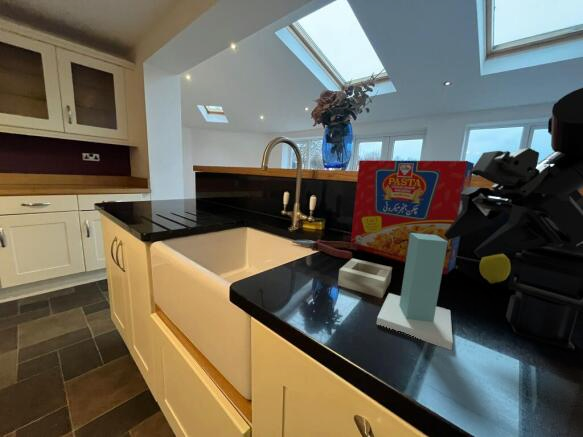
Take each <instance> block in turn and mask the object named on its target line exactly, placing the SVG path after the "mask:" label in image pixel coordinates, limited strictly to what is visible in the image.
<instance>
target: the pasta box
mask: <svg viewBox="0 0 583 437" xmlns="http://www.w3.org/2000/svg"><path fill="white" fill-rule="evenodd" d="M474 166H475V163H474V162H471V161H469V160H366V159H365V160H363V159H362V160H359V162H358V170H357V171H358V172H357V181H356V188H355V189H356V190H355V198H354V199H355V200H354V208H353V217H352V227H351V237H350V243H353V244H356V245H357V246H358V249H357V250H359V251H360V250H361V251H363V250H364V251H363V252H367V253H370V254H375V255H377V254H378V256H382V257H384V258H388V259H390V260H391V259H392V260H395V261H398V262H402V263H404V264H406V257H407V251H408V244H409V237H410V233H418V234H429V235H437V236H439V237H441V238H442V239H444V240H446V241H448V243H447V249H446V255H445V260H444V266H443V271H442V275H443V274H444V275H447V274H448V273H450V272H451V271H452V270H453V269H455V265H456V261H457V255H458V251H459V244H460V239H461V236H459V237H456V238H453V239H450V240H448V239H447V238H446V237H445V236H444V234H445V233H446V231H447V230H448V229H449V227H450V226H451V225H452V223H453V222H454V221H455V219H456V218H457V216H458V215H459V213H460V212H461V210H462V201H461V197H462V196H461V195H460V193H461V192H463V191H464V190H465V189H467V188H468V187H471V181H472V176H473V174H472V173H471V170H472V169H473V167H474Z"/></svg>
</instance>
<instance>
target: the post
mask: <svg viewBox="0 0 583 437" xmlns="http://www.w3.org/2000/svg"><path fill="white" fill-rule="evenodd" d="M447 243H448V241H446V240H444V239H442V238H441V237H439V236H437V235H429V234H418V233H410V237H409V244H408V251H407V257H406V263H404V264H405V266H404V270H403V272H404V273H403V278H402V285H401V292H400V296H401V297H400V304H399V306H400V308H401V310H402V312H403V314H404V316H405V317H406V319H412V320H419V321H427V322H433V321H434V316H435V310H436V306H437V305H438V304H437V303H438V299H439V292H440V288H441V287H440V286H441V283H442V276H443V273H442V271H443V266H444V260H445V255H446V249H447Z"/></svg>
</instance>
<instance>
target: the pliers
mask: <svg viewBox="0 0 583 437" xmlns="http://www.w3.org/2000/svg"><path fill="white" fill-rule="evenodd" d="M291 242H292V243H293V244H297V245H300V246H302V247H307V248H311V250H318V251H320V252H323V253H325V254H327V255H330V256H333V257H336V258H341V259H348V260H351V259H352V258H353V252H351V251H349V250H351V249H353V251H358V250H359V249H358V246H357V245H356V244H353V243H351V242H348V241H347V242H346V241H338V240H337V241H332V240H330V241H328V240H321V239H317V240H316V241H314V240H309V239H295V240H292V241H291ZM346 248H347V250H343V249H346ZM341 249H342V250H341Z"/></svg>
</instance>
